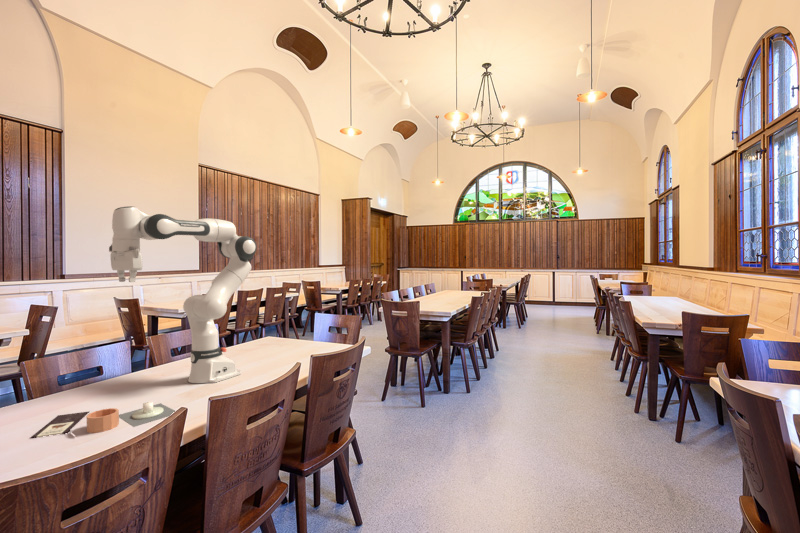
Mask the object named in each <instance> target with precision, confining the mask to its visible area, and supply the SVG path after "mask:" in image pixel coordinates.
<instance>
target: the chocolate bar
mask: <svg viewBox="0 0 800 533" xmlns="http://www.w3.org/2000/svg"><path fill="white" fill-rule="evenodd" d="M88 414H90V411H83V412H82V411H81V412H75V413H67V414H59V415H56V416H55V417H54V418H53V419H52V420H50V421H49V422H48V423H47V424H45V425H44V426H43V427H41V429H39V430H38V431H37V432H35V433H34V434H33V435H32V436H31V437H30V439H31V438H32V439H37V437H39V438H44V437H43V436H46V437H50V436H49V435H53V436H57V435H56V434H60V435H65V433H67V434H69V433H70V432H71V430H72V429H73V428H74V427H75V426H76V425H78V423H79V422H81V420H83V419H84V418H85V417H87V415H88ZM68 432H69V433H68Z"/></svg>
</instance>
